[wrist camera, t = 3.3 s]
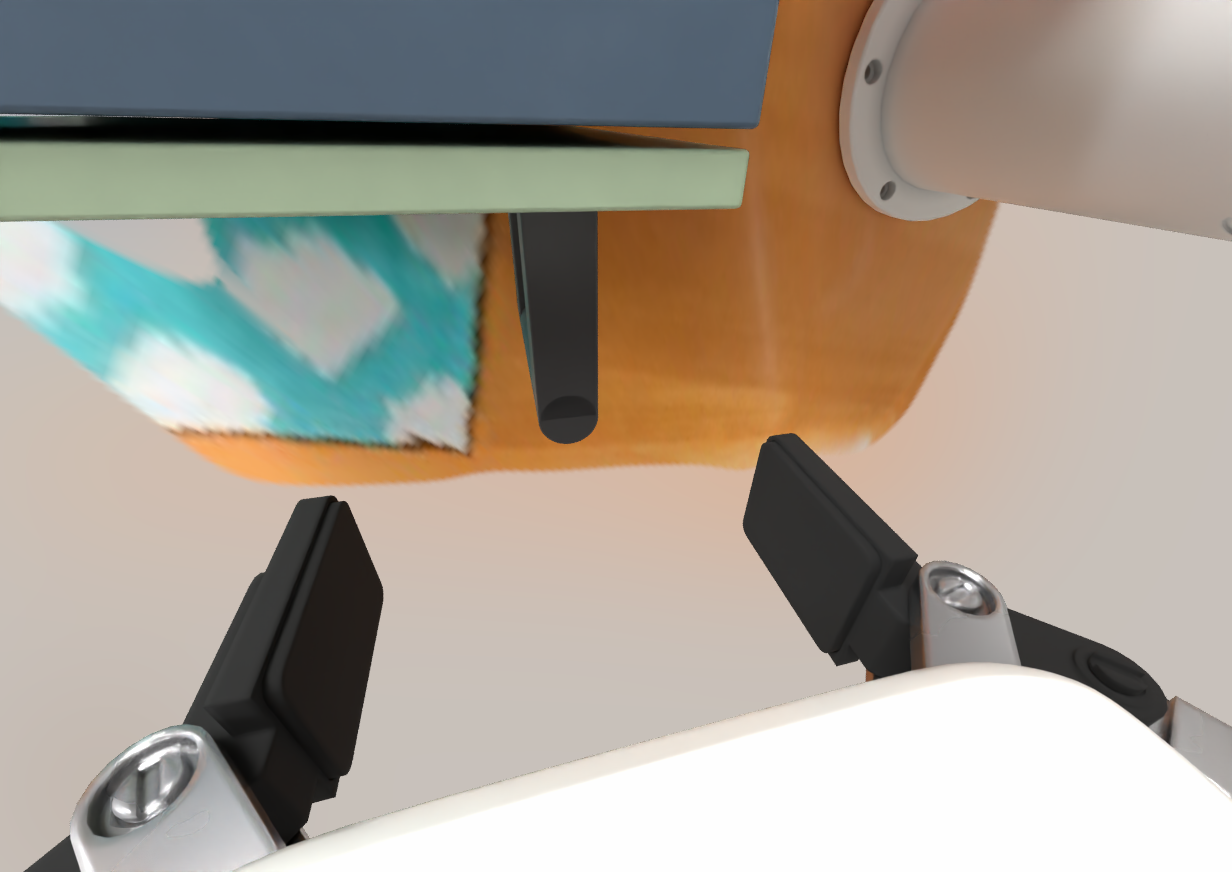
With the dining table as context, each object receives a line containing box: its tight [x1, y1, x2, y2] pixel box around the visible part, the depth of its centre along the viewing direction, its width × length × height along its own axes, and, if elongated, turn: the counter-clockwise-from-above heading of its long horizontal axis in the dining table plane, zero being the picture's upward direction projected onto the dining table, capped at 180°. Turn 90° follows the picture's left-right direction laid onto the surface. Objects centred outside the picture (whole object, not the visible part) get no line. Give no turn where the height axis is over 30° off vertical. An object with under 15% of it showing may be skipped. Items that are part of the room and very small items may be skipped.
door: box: [0, 116, 749, 444], centre depth 14 cm, size 7×18×17 cm, turn 89°
